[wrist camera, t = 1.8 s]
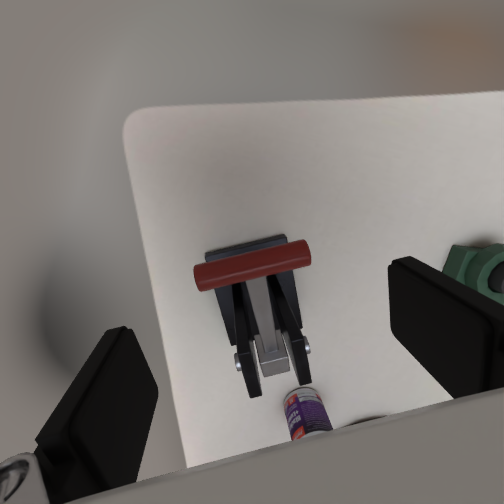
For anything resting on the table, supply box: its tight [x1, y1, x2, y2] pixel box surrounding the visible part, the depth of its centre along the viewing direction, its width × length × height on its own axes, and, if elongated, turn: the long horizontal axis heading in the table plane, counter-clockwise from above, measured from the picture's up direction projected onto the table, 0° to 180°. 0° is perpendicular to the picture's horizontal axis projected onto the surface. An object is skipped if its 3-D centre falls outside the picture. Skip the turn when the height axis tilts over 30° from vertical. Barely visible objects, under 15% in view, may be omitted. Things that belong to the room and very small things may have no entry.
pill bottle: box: [284, 388, 333, 441], centre depth 35 cm, size 5×5×10 cm
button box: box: [442, 244, 504, 305], centre depth 34 cm, size 11×8×4 cm
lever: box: [194, 239, 311, 377], centre depth 19 cm, size 13×6×2 cm, turn 12°
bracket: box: [205, 234, 312, 398], centre depth 27 cm, size 12×9×13 cm
